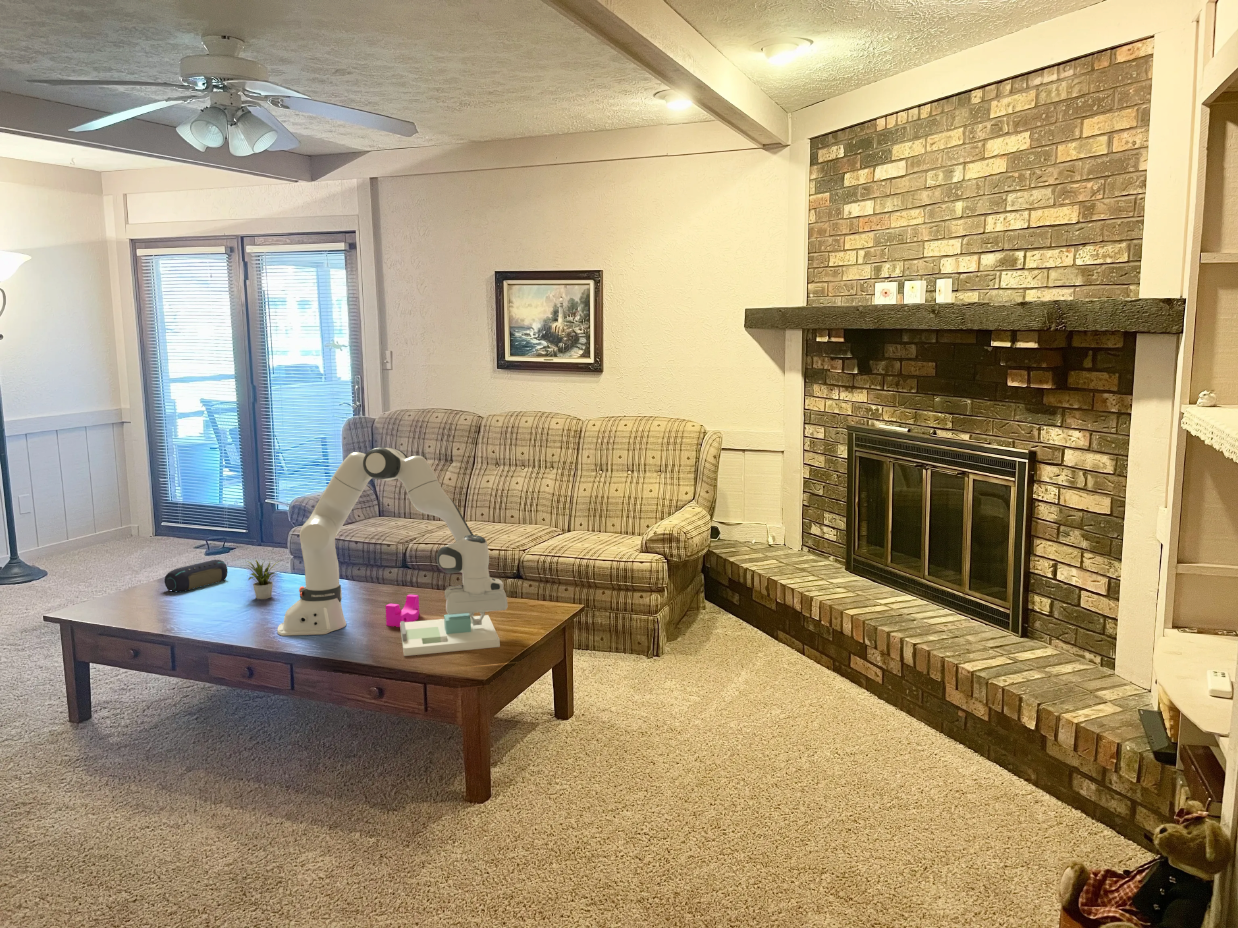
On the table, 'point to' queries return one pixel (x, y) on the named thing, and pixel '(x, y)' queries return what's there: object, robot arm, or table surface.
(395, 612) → the toy block
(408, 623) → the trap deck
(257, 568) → the house plant
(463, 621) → the teal block
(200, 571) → the portable speaker
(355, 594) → the table surface
